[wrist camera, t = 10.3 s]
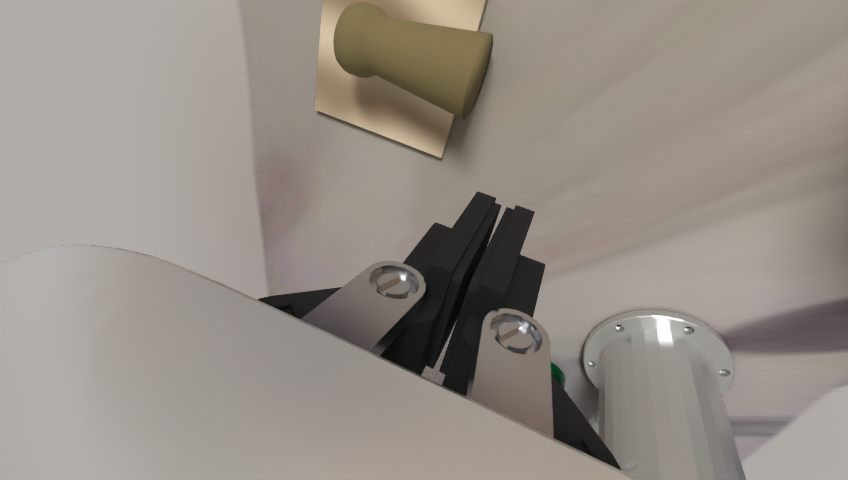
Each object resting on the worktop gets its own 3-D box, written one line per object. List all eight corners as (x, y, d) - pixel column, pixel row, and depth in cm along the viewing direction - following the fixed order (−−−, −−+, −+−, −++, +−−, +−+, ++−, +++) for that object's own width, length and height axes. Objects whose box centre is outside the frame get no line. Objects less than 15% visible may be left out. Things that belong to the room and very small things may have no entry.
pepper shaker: (457, 136, 31) (329, 90, 33) (484, 85, 34) (364, 45, 36) (468, 69, 26) (314, 19, 28) (499, 15, 29) (357, -27, 30)
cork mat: (443, 156, 37) (441, 158, 37) (317, 108, 39) (314, 109, 39) (513, -95, 27) (512, -96, 26) (337, -142, 29) (333, -144, 28)
